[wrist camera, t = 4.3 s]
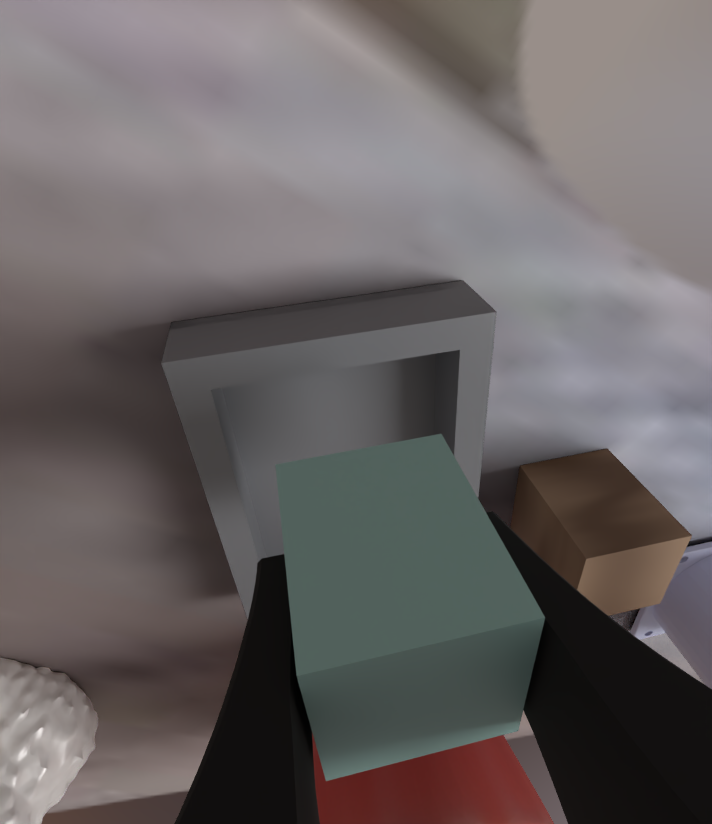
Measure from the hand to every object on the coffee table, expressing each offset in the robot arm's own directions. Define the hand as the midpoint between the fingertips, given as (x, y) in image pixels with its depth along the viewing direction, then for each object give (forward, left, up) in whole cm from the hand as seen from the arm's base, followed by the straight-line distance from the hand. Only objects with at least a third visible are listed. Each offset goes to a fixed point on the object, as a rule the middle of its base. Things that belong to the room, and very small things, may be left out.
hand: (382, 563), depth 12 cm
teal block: (0, 0, -2) cm, 2 cm away
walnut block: (-10, +7, -7) cm, 14 cm away
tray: (0, +3, -7) cm, 8 cm away
